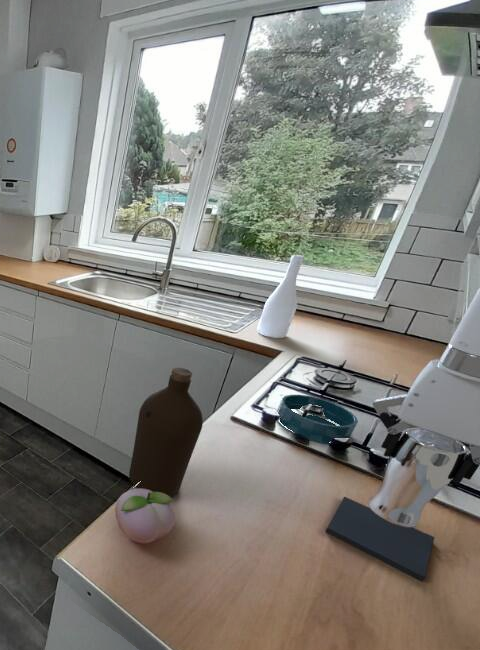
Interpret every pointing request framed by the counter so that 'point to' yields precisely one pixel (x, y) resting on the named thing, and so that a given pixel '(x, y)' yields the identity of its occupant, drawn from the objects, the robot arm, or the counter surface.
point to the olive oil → (166, 436)
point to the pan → (316, 419)
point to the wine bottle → (281, 304)
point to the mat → (382, 538)
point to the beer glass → (416, 475)
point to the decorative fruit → (144, 515)
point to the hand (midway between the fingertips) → (420, 464)
